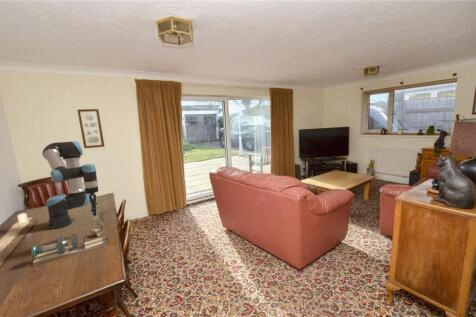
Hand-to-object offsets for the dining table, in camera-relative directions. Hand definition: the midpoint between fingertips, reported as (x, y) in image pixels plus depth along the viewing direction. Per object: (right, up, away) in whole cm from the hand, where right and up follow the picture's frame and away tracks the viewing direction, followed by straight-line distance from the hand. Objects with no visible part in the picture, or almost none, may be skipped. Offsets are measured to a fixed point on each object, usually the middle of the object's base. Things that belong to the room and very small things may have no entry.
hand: (95, 216), depth 151 cm
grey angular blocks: (+3, -15, -14) cm, 21 cm away
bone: (0, -14, +2) cm, 14 cm away
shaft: (-10, -14, -23) cm, 29 cm away
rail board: (-2, -16, -17) cm, 24 cm away
